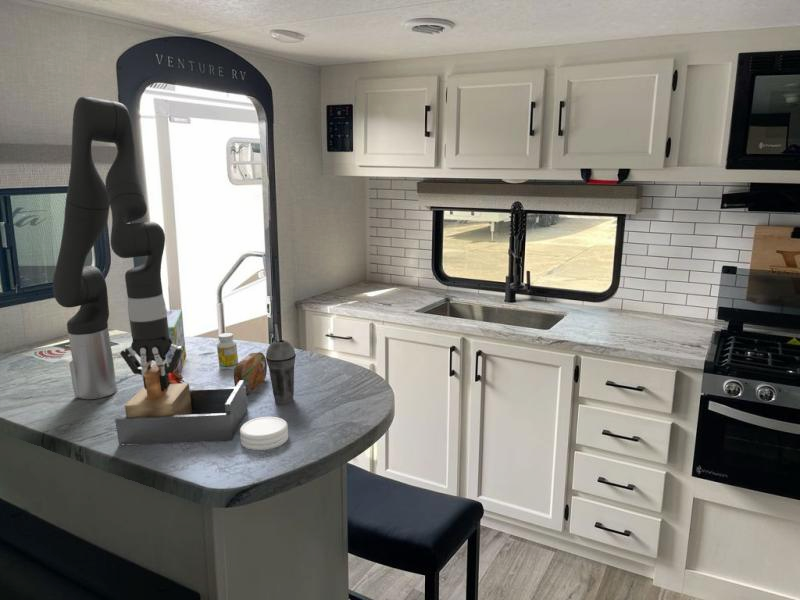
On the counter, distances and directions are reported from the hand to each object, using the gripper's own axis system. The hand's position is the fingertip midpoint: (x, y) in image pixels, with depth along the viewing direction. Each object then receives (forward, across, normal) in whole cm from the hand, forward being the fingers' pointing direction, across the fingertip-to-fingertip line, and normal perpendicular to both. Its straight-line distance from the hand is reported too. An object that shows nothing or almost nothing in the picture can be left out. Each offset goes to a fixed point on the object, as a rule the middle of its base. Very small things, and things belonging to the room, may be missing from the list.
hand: (157, 390), depth 137 cm
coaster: (+10, +24, -8) cm, 27 cm away
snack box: (+9, -10, +41) cm, 43 cm away
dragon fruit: (+9, -4, +18) cm, 21 cm away
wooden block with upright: (+8, 0, 0) cm, 8 cm away
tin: (+9, +16, +23) cm, 29 cm away
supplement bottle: (+9, +6, +40) cm, 41 cm away
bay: (+9, +6, 0) cm, 11 cm away
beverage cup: (+9, +26, +13) cm, 30 cm away
